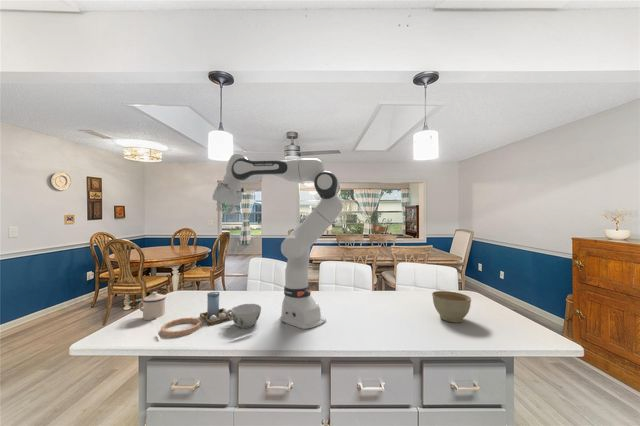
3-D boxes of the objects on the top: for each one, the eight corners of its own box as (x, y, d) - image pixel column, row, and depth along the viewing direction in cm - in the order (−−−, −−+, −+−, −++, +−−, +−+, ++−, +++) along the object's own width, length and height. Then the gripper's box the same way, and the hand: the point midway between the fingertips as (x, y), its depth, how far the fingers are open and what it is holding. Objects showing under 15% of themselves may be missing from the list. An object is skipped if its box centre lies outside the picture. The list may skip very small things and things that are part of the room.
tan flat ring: (205, 331, 102) (205, 324, 102) (165, 342, 93) (165, 335, 93) (195, 320, 113) (195, 315, 113) (158, 330, 103) (158, 323, 103)
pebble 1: (217, 322, 109) (217, 315, 110) (210, 324, 107) (210, 317, 108) (215, 320, 112) (215, 313, 112) (208, 321, 110) (208, 315, 110)
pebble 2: (227, 319, 112) (227, 313, 112) (220, 321, 110) (220, 314, 110) (224, 318, 114) (224, 311, 114) (217, 319, 112) (217, 313, 112)
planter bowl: (477, 327, 107) (477, 302, 107) (437, 324, 110) (437, 299, 110) (463, 313, 122) (463, 291, 123) (428, 311, 126) (428, 289, 126)
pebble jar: (220, 317, 115) (221, 293, 115) (209, 320, 112) (209, 295, 112) (216, 314, 119) (217, 290, 119) (205, 316, 115) (205, 293, 116)
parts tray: (234, 320, 113) (234, 315, 113) (209, 327, 106) (209, 322, 106) (223, 312, 123) (223, 308, 123) (199, 318, 116) (199, 313, 116)
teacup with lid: (169, 313, 122) (170, 289, 122) (156, 321, 113) (156, 295, 113) (146, 312, 122) (146, 289, 123) (131, 320, 113) (131, 294, 114)
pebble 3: (229, 317, 115) (229, 310, 115) (222, 318, 113) (222, 312, 113) (226, 315, 118) (226, 308, 118) (220, 316, 115) (220, 310, 116)
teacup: (265, 321, 112) (265, 303, 113) (254, 334, 100) (254, 314, 100) (234, 319, 115) (234, 302, 115) (219, 331, 102) (219, 311, 102)
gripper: (225, 182, 115) (217, 211, 115) (246, 190, 135) (239, 215, 135) (213, 179, 117) (205, 208, 116) (236, 188, 137) (229, 212, 136)
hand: (224, 212), depth 125 cm, fingers open, 8 cm apart
